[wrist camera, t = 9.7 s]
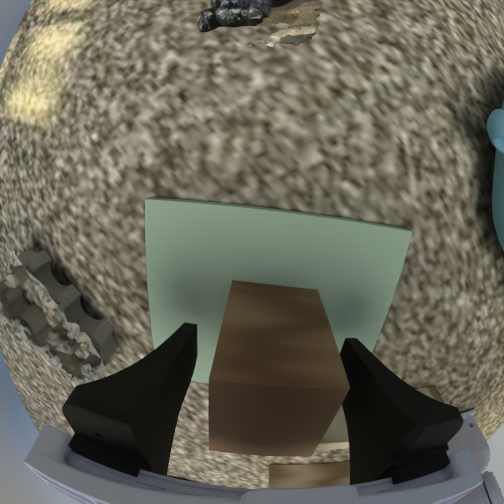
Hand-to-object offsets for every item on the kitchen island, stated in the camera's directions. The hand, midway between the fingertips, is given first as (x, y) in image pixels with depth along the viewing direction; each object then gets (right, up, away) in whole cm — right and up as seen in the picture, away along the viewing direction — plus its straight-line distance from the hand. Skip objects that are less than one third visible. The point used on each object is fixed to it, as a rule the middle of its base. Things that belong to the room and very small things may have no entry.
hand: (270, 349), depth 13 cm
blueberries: (-1, +17, -2) cm, 17 cm away
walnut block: (0, +1, +3) cm, 3 cm away
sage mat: (0, +1, +3) cm, 3 cm away
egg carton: (-15, 0, +4) cm, 16 cm away
